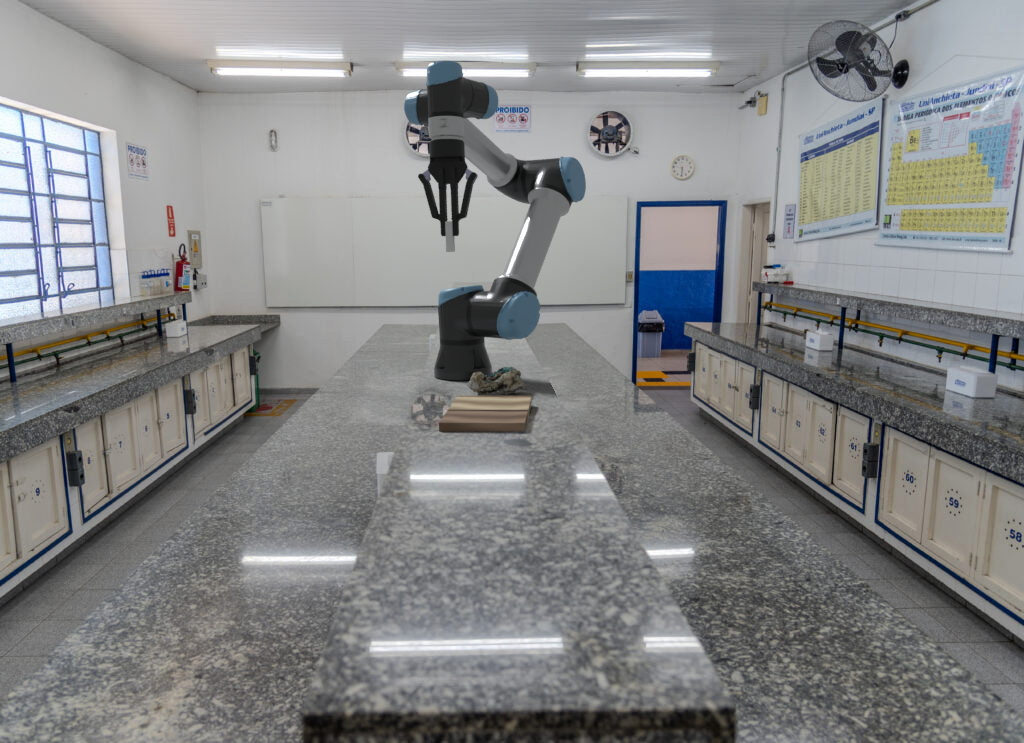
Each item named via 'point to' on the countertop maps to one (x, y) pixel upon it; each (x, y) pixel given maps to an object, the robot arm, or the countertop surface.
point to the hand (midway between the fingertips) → (450, 251)
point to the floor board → (484, 420)
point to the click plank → (492, 403)
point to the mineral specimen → (497, 381)
